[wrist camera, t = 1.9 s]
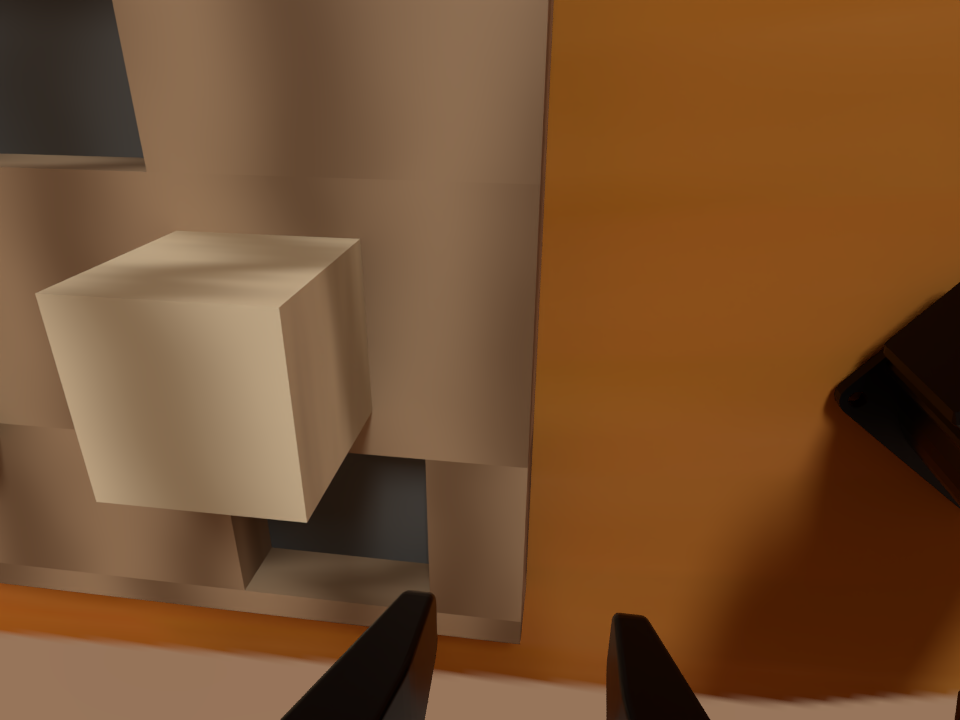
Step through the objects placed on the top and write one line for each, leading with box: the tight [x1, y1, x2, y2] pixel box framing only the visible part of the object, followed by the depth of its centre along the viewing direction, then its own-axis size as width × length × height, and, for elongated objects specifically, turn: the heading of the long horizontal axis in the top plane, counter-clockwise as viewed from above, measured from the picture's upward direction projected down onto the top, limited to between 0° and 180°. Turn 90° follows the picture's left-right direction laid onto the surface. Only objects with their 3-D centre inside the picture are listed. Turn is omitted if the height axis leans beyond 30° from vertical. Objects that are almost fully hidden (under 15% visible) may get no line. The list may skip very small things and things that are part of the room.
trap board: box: [0, 0, 554, 644], centre depth 20 cm, size 24×22×2 cm
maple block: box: [35, 231, 372, 523], centre depth 16 cm, size 5×5×5 cm
